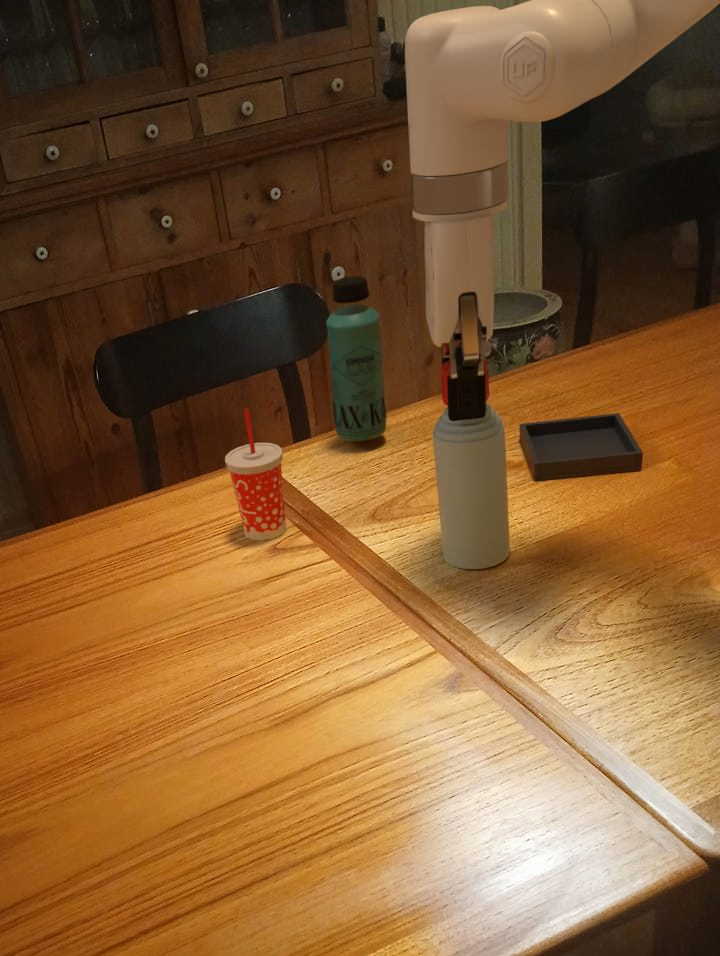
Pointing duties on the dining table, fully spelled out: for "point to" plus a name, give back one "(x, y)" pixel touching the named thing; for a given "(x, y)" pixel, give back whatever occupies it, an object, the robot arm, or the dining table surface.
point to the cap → (446, 372)
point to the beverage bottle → (356, 363)
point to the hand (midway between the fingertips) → (464, 406)
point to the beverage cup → (258, 486)
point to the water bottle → (472, 490)
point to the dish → (580, 447)
